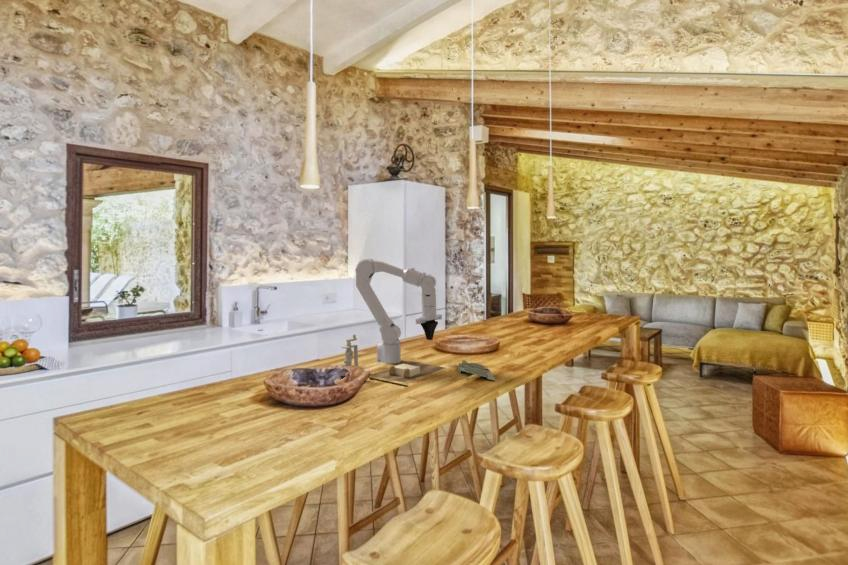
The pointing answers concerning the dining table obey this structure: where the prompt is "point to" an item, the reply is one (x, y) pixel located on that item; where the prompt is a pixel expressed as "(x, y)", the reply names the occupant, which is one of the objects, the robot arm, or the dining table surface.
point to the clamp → (351, 352)
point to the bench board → (398, 377)
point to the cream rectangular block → (413, 369)
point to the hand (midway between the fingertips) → (429, 339)
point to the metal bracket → (475, 370)
